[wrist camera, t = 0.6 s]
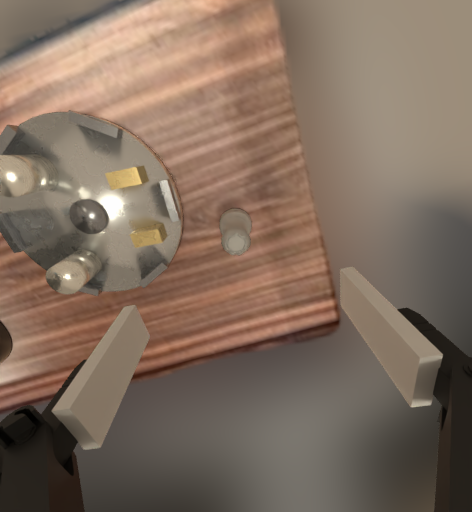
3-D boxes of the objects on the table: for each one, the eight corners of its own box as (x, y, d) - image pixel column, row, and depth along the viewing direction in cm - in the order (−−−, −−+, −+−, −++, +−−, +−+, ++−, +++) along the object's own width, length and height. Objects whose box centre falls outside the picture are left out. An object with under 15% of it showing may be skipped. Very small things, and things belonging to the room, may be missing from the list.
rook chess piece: (216, 210, 31) (211, 228, 24) (249, 205, 31) (254, 222, 24) (222, 240, 33) (219, 266, 26) (253, 236, 33) (259, 260, 26)
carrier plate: (60, 297, 37) (27, 325, 31) (-38, 137, 27) (-112, 133, 21) (201, 272, 35) (195, 296, 29) (149, 93, 26) (124, 76, 20)
